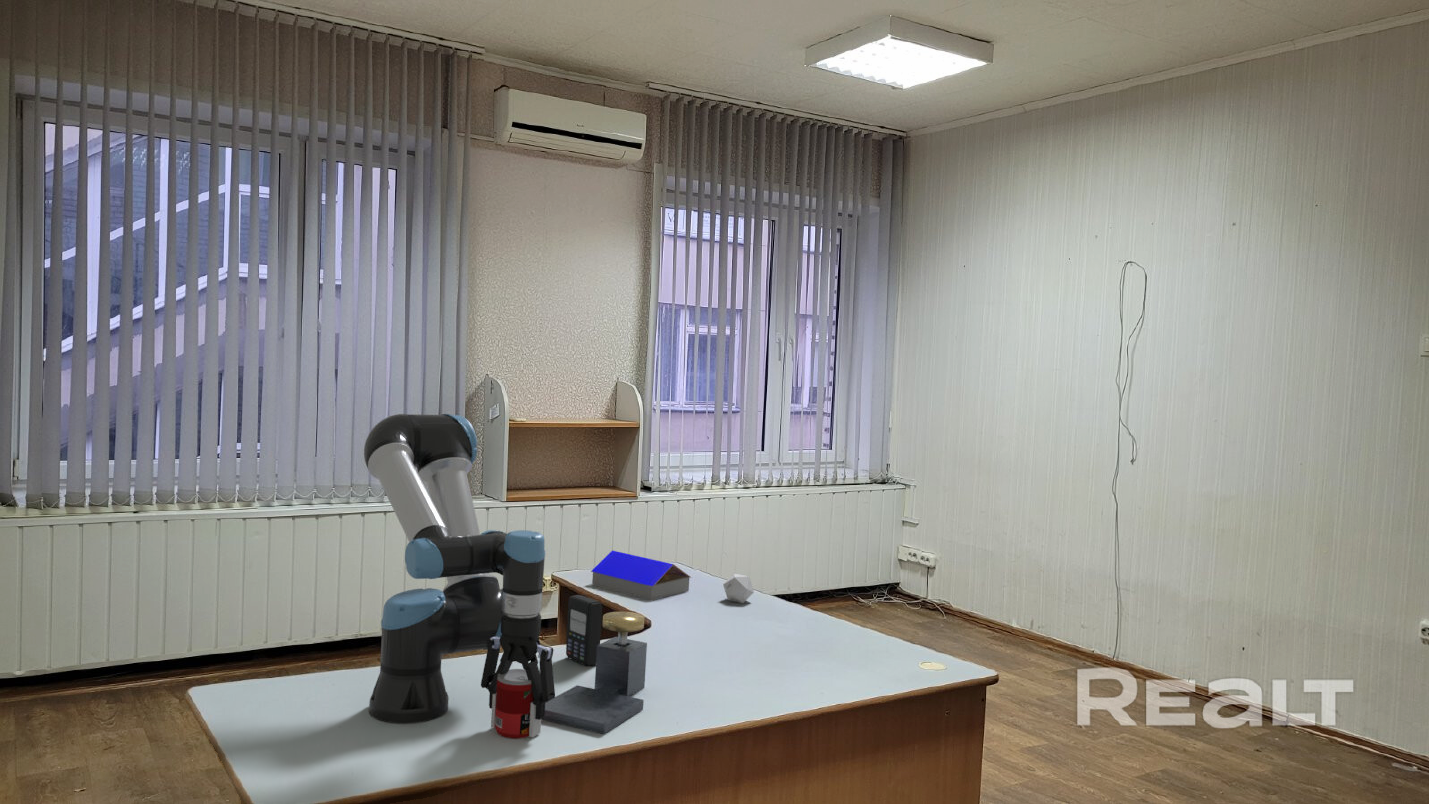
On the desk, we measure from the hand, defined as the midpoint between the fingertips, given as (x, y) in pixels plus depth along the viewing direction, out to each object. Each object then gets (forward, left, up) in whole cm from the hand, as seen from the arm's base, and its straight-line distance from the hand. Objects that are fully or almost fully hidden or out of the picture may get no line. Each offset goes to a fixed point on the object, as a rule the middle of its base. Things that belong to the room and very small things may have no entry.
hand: (515, 730), depth 196 cm
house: (-35, +116, -1) cm, 121 cm away
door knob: (+5, +32, +6) cm, 33 cm away
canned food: (0, 0, 0) cm, 0 cm away
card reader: (-12, +44, 0) cm, 46 cm away
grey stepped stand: (+7, +22, 0) cm, 23 cm away
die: (-4, +120, -1) cm, 120 cm away
